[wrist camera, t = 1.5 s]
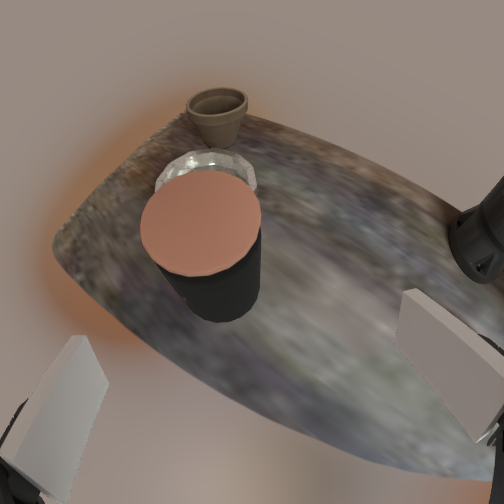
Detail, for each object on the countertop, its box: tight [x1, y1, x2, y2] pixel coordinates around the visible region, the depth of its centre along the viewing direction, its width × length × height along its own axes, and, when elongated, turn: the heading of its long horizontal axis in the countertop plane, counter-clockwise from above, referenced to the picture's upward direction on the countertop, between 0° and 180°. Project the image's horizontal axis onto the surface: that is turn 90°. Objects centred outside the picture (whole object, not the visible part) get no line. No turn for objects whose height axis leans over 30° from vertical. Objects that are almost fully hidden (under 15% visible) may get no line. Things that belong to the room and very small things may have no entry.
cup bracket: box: [155, 148, 257, 197], centre depth 44 cm, size 16×16×4 cm
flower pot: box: [186, 87, 248, 149], centre depth 49 cm, size 12×11×10 cm
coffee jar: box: [140, 170, 261, 323], centre depth 31 cm, size 11×11×18 cm
